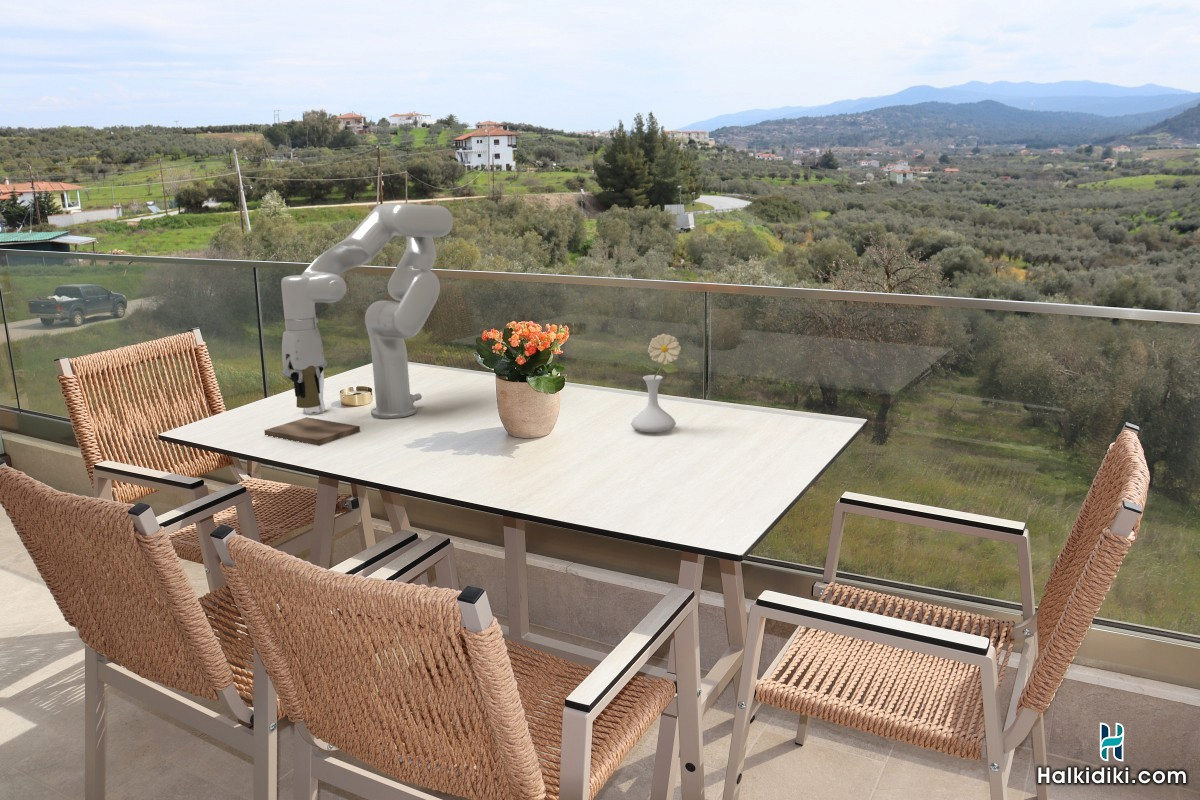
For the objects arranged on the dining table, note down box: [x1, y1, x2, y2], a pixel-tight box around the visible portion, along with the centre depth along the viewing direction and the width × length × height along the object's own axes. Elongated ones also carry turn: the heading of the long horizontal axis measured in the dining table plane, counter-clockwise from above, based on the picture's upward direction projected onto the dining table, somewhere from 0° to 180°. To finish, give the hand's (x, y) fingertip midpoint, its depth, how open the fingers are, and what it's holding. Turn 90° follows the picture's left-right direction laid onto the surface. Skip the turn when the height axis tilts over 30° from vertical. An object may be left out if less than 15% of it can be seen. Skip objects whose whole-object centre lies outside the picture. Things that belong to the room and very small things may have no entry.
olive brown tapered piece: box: [296, 366, 321, 409], centre depth 234 cm, size 6×6×11 cm
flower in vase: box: [630, 333, 682, 433], centre depth 229 cm, size 13×11×25 cm
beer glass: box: [302, 370, 327, 415], centre depth 258 cm, size 7×7×15 cm
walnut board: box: [264, 417, 361, 446], centre depth 237 cm, size 14×20×2 cm
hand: (307, 394), depth 235 cm, fingers closed on olive brown tapered piece, 4 cm apart
